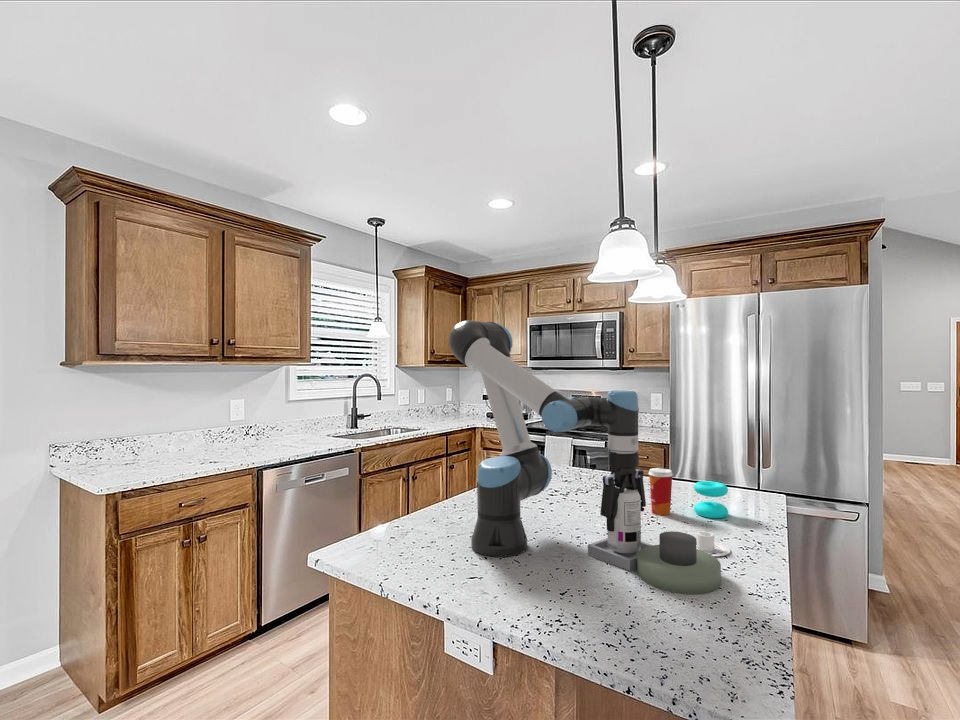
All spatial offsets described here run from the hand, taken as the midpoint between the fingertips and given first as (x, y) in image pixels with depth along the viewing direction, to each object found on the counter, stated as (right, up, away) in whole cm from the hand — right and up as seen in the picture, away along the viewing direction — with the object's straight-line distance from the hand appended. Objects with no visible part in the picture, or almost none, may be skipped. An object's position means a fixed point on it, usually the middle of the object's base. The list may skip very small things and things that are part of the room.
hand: (624, 539), depth 128 cm
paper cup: (+22, -4, +35) cm, 42 cm away
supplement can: (0, -2, 0) cm, 2 cm away
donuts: (+38, -4, +33) cm, 50 cm away
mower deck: (+5, -4, -7) cm, 10 cm away
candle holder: (+23, -5, +5) cm, 24 cm away
